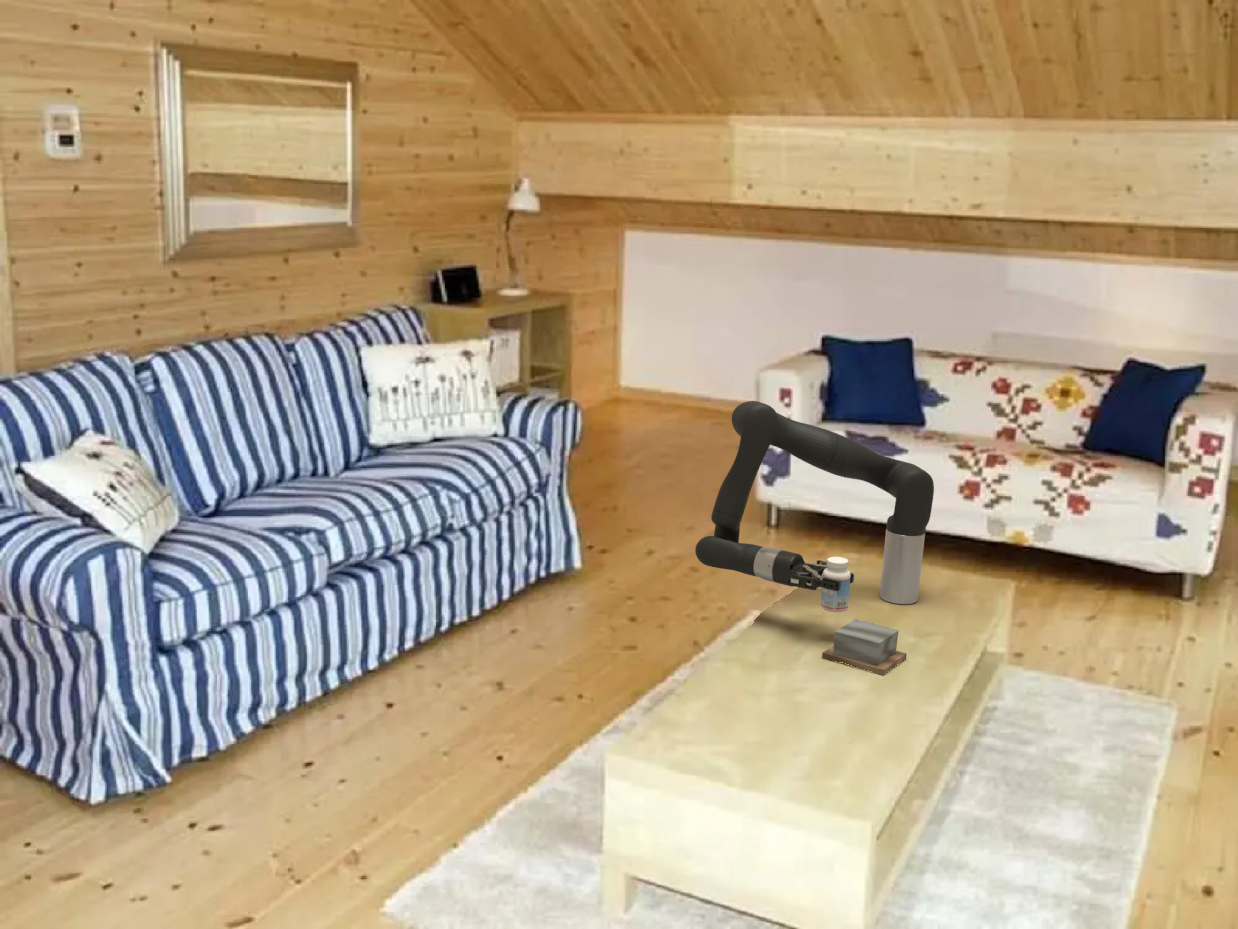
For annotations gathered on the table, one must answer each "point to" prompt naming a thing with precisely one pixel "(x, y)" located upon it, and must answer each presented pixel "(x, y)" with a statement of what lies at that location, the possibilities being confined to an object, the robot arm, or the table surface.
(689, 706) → the table surface
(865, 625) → the tower base
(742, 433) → the robot arm
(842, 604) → the pill bottle
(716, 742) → the table surface
